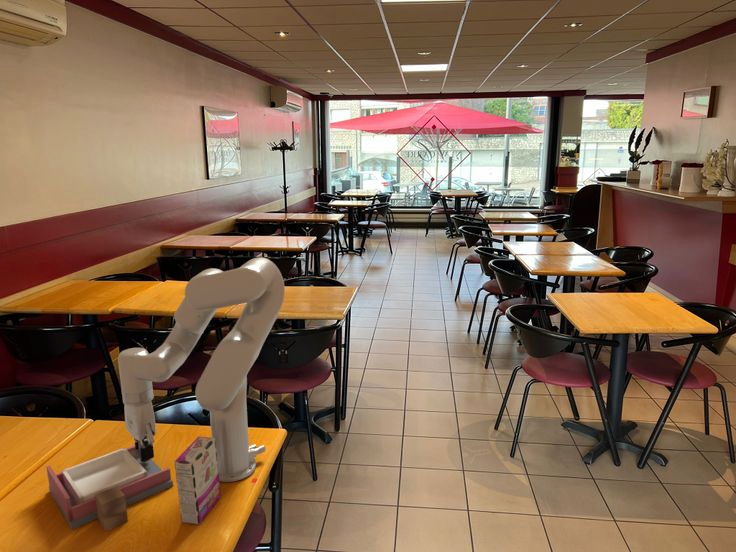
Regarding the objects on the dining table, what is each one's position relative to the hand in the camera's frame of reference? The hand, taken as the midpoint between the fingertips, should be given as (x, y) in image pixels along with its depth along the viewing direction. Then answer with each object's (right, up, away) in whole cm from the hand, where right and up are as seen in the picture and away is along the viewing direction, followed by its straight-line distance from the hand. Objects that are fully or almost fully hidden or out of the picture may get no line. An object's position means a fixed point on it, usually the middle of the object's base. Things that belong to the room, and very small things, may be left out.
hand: (145, 455), depth 146 cm
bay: (-5, -6, -8) cm, 11 cm away
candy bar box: (+21, -8, -17) cm, 27 cm away
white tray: (-4, -4, -8) cm, 10 cm away
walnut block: (+1, -9, -20) cm, 22 cm away
